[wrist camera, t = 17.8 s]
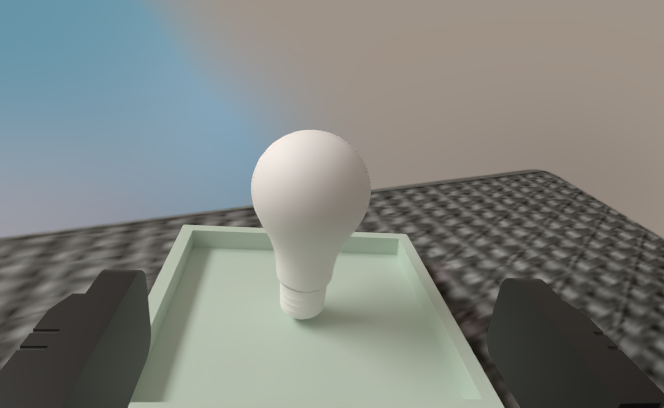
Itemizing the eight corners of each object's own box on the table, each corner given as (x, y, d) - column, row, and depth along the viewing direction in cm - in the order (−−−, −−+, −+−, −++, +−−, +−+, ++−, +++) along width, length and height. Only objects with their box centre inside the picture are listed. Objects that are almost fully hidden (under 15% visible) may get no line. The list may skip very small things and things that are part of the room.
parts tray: (402, 254, 34) (406, 234, 34) (498, 444, 19) (508, 414, 18) (184, 246, 32) (183, 224, 32) (93, 453, 17) (87, 420, 16)
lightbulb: (261, 281, 28) (268, 113, 24) (354, 292, 28) (377, 125, 24) (234, 344, 23) (236, 139, 18) (350, 359, 22) (379, 156, 18)
